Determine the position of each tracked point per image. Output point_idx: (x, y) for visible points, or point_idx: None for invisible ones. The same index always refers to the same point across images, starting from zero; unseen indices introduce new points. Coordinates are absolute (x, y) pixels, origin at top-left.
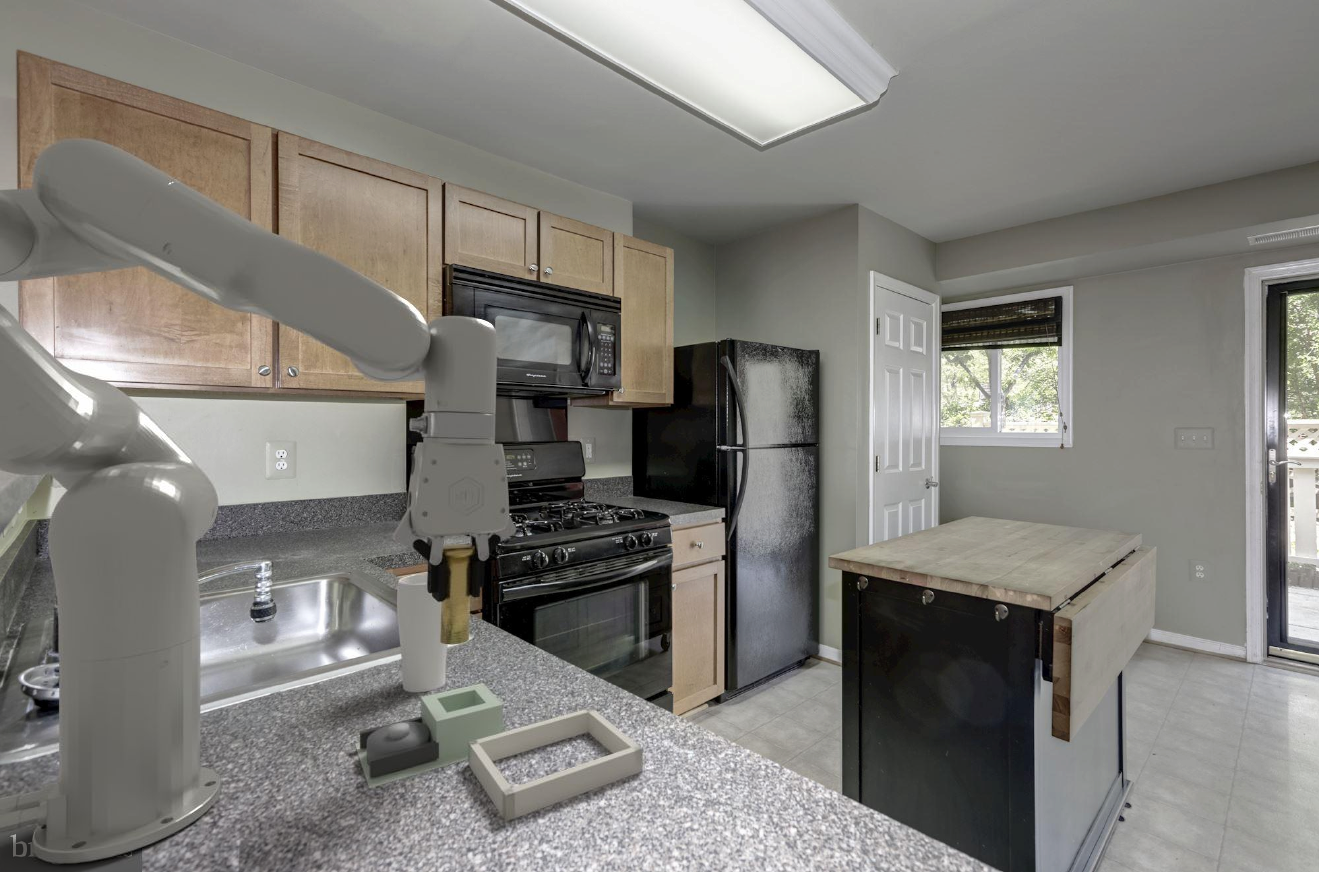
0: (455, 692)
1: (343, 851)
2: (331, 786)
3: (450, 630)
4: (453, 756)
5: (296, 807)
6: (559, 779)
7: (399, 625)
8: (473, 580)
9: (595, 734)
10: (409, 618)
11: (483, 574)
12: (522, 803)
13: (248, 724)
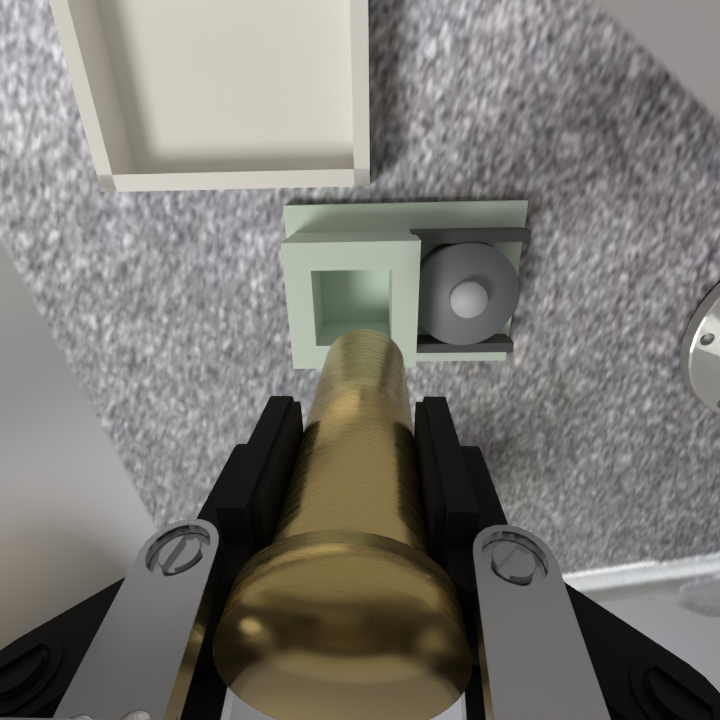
0: None
1: (602, 49)
2: (558, 267)
3: (387, 351)
4: (384, 228)
5: (615, 233)
6: None
7: None
8: (284, 440)
9: (123, 139)
10: None
11: (223, 477)
12: None
13: (595, 506)
